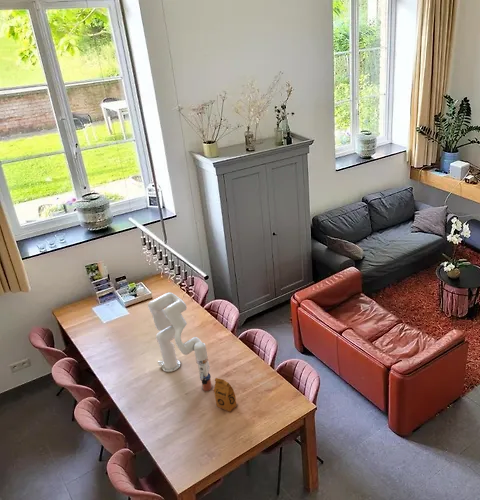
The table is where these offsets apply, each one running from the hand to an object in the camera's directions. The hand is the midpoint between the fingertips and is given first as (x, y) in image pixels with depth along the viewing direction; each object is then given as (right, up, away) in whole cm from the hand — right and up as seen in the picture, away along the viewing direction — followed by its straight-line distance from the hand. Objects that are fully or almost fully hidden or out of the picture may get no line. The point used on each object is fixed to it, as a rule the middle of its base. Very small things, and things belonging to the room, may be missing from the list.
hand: (205, 379), depth 356 cm
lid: (0, +3, -1) cm, 3 cm away
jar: (0, -6, +3) cm, 7 cm away
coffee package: (+17, -14, -12) cm, 25 cm away
